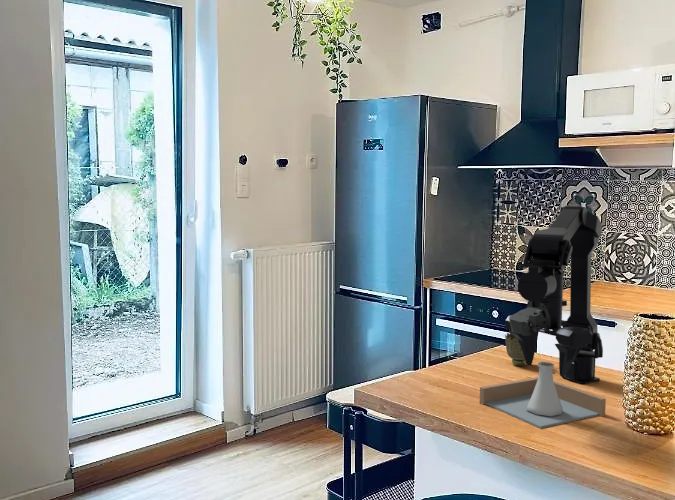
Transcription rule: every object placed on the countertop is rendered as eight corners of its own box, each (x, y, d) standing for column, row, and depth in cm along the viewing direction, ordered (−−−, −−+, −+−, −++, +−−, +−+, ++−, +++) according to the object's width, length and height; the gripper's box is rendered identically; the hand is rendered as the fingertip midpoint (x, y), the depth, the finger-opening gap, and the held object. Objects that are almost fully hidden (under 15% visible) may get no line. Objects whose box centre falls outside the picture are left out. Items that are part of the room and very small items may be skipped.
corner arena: (540, 391, 147) (541, 376, 147) (605, 415, 132) (605, 398, 131) (479, 402, 139) (480, 387, 139) (540, 429, 123) (540, 412, 123)
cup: (528, 370, 165) (529, 339, 164) (500, 365, 169) (501, 335, 168) (536, 363, 171) (537, 334, 171) (509, 359, 175) (510, 330, 175)
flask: (553, 420, 128) (554, 370, 127) (519, 411, 133) (521, 363, 132) (569, 411, 133) (570, 363, 132) (536, 403, 138) (537, 357, 137)
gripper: (486, 291, 135) (484, 364, 136) (553, 305, 118) (550, 388, 120) (526, 288, 140) (524, 358, 141) (595, 301, 124) (592, 380, 125)
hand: (545, 370), depth 132 cm, fingers open, 9 cm apart
